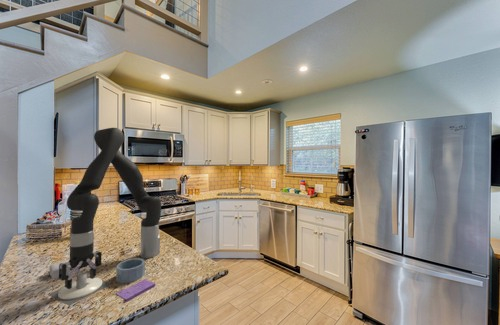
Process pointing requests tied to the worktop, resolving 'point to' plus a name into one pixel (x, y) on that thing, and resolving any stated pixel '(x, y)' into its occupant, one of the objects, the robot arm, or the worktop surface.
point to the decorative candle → (74, 216)
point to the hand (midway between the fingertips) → (81, 283)
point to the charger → (57, 269)
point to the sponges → (136, 290)
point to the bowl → (130, 270)
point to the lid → (80, 287)
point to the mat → (70, 302)
